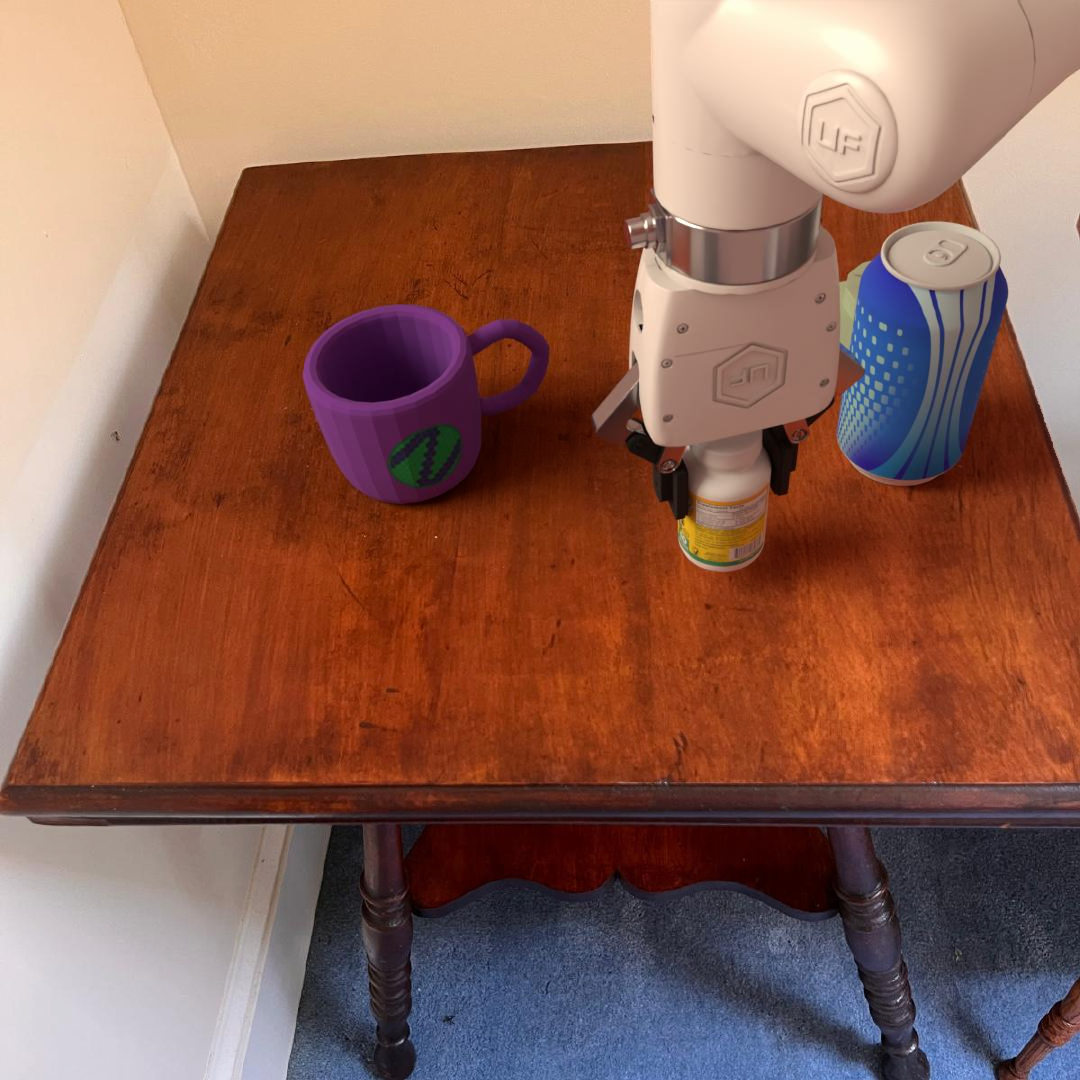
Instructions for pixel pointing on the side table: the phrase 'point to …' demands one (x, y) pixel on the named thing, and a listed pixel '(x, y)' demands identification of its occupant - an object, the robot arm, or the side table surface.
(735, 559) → the supplement bottle
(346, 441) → the mug
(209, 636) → the side table surface
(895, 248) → the beer can
